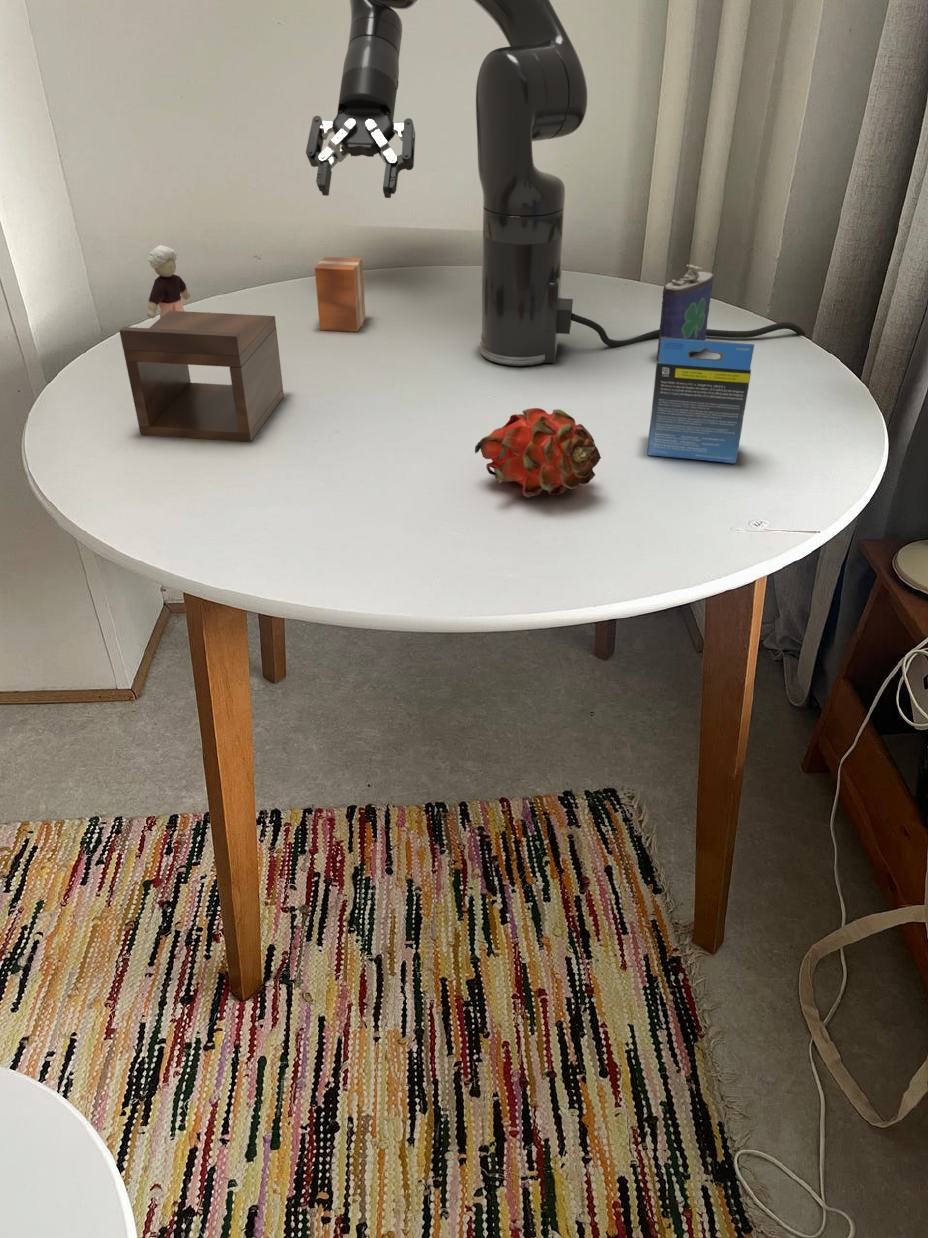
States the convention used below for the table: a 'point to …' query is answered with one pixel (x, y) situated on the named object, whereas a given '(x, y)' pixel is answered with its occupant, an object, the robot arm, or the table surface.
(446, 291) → the table surface
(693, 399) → the tape cartridge
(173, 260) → the grandmother figurine
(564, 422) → the dragon fruit
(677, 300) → the flask
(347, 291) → the block
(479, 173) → the robot arm
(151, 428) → the shelf
